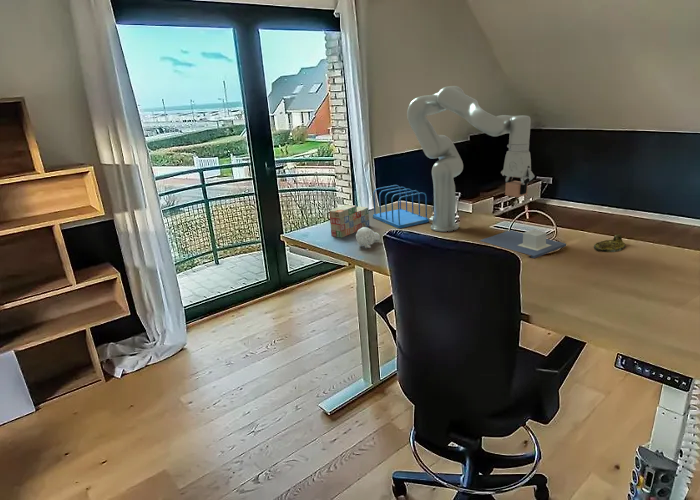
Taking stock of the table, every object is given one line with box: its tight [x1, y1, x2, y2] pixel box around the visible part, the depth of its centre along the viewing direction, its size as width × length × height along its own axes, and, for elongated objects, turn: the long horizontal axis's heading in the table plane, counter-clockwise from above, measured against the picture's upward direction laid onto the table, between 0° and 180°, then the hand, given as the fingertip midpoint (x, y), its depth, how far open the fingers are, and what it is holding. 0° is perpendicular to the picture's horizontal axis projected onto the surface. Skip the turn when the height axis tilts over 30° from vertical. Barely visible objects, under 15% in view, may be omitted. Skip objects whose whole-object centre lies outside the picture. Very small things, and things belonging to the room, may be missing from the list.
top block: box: [504, 180, 529, 198], centre depth 192 cm, size 6×6×5 cm
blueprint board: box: [478, 229, 567, 259], centre depth 189 cm, size 26×20×1 cm
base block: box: [522, 229, 548, 249], centre depth 183 cm, size 6×6×5 cm
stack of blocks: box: [329, 204, 370, 239], centre depth 221 cm, size 21×6×12 cm, turn 141°
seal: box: [593, 233, 626, 253], centre depth 179 cm, size 9×5×15 cm
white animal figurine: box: [355, 227, 381, 249], centre depth 200 cm, size 6×8×12 cm
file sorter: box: [372, 184, 430, 229], centre depth 233 cm, size 25×17×15 cm
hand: (516, 192), depth 193 cm, fingers closed on top block, 6 cm apart
